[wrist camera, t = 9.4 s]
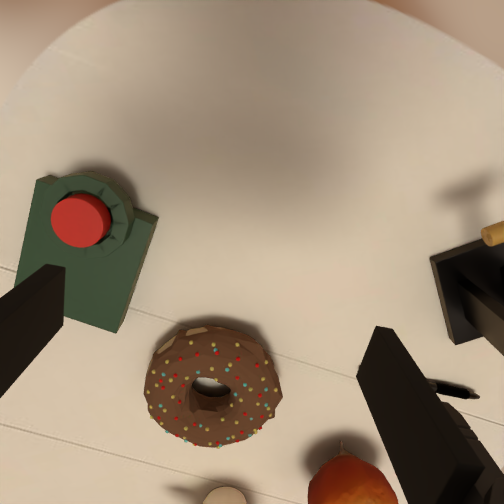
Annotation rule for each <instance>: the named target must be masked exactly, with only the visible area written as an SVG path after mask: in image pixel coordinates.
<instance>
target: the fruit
mask: <svg viewBox="0 0 504 504" xmlns="http://www.w3.org/2000/svg"><path fill="white" fill-rule="evenodd" d="M308 504H398V499H397V496H396V494H395V492H394V490H393V489H392V487H391V486H390V484H389V482H388V481H387V479H386V477H385V476H384V474H383V473H382V472H381V471H380V470H379V469H378V468H376V467H375V466H373V465H371V464H369V463H367V462H365V461H363V460H361V459H359V458H358V457H357V456H354V455H352V454H351V453H349V452H347V451H345V450H344V448H343V442H341V441H340V452H339V454H338V455H337V456H335V457H334V458H332V459H331V460H329V461H328V462H326V463H325V464H323V465H322V467H321V468H320V469H319V470H318V472H317V473H316V474H315V476H314V477H313V478H312V480H311V481H310V483H309V487H308Z"/></svg>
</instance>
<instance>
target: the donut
mask: <svg viewBox="0 0 504 504" xmlns="http://www.w3.org/2000/svg"><path fill="white" fill-rule="evenodd" d="M198 377H207V378H212V379H214V380H215V381H217V382H218V383H221V384H225V385H227V386H228V387H229V388H230V390H231V391H230V393H228V394H226V395H224V396H222V397H207V396H205V395H202V394H200V393H197V392H196V391H195V389H194V388H193V387H192V383H193V381H194V380H195V379H196V378H198ZM144 396H145V398H146V401H147V403H148V411H149V413H150V415H151V416H150V418H151V419H154V420H155V421H156V422H157V423H158V424H159V425H160V426H161V427H162V428H163V429H165V430H166V431H165V432H166V433H171V434H173V435H175V436H176V437H180V438H182V439H184V441H185V442H187V441H189V442H191V443H193V445H194V446H196V445H198V446H202V447H214V448H215V447H217V449H219V448H220V447H222V446H223V445H227V444H231V443H235V442H239V441H242V440H245V439H247V438H249V437H251V436H252V435H253V434H257V430H258V429H259V430H260V429H262V425H263V424H264V423H265V422H266V421H267V420H268V419H271V418H274V417H275V408H276V407H277V405H278V404H279V402H280V401H281V399H282V398H283V395H282V391H281V387H280V383H279V378H278V376H277V374H276V372H275V370H274V364H273V361H272V359H271V357H270V355H269V354H268V353H267V352H266V351H265V350H264V349H263V348H262V346H261V345H260V344H259V343H257V342H256V341H255V339H253V338H252V337H250V336H249V335H246V334H243V333H240V332H237V331H234V330H231V329H226V328H220V327H214V326H211V325H208V324H207V325H205V326H204V327H201V328H195V329H190V330H187V331H185V330H179V331H178V333H177V335H176V336H174V337H173V338H172V339H171V340H169V341H168V342H167V343H165V344H164V345H163V346H162V347H161V348H160V349H159V350H157V351H156V352H155V353H154V354H153V359H152V360H151V361H150V364H149V368H148V371H147V374H146V380H145V387H144Z"/></svg>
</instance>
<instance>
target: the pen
mask: <svg viewBox="0 0 504 504" xmlns="http://www.w3.org/2000/svg"><path fill="white" fill-rule="evenodd" d="M429 384H430V385H431V387H432V388H433V390H434V391H435V393H439V394H442V395H447V396H453V397H458V398H462V399H479V398H480V396H479V395H477V394H476V393H474V392H470V391H468V390H467V389H463V388H458V387H454V386H450V385H446V384H441V383H432V382H429Z"/></svg>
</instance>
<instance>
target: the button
mask: <svg viewBox="0 0 504 504" xmlns="http://www.w3.org/2000/svg"><path fill="white" fill-rule="evenodd" d="M51 224H52V227H53V230H54V232H55V233H56V235H57V236H58V237H59V238H60V239H61V240H62V241H63V242H65V243H67V244H68V245H71V246H74V247H80V248H84V247H89V246H92V245H94V244H95V243H97V242H98V241H99V240H100V239H101V238H102V237H103V236H105V235H106V233H107V232H108V230H109V228H110V225H111V217H110V213H109V211H108V209H107V207H106V206H105V204H104V203H103V202H102V201H101V200H99V199H98V198H96V197H95V196H92V195H89V194H84V193H80V194H75V195H72V196H70V197H68V198H66V199H64V200H62V201H60V202H59V203H57V204H56V206H55V207H54V209H53V211H52V214H51Z"/></svg>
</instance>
